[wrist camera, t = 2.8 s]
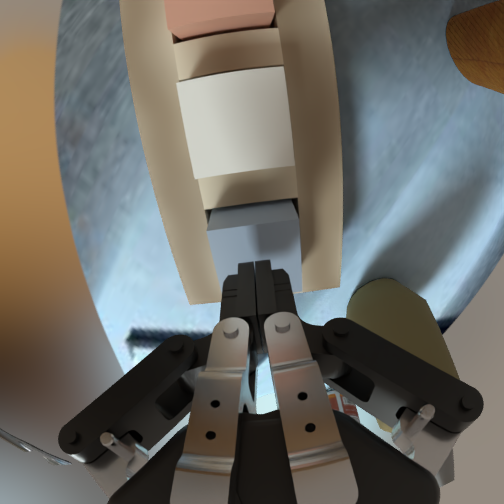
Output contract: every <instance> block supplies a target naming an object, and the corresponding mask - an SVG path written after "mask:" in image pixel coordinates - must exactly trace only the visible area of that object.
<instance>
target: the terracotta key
mask: <svg viewBox="0 0 504 504" xmlns="http://www.w3.org/2000/svg"><path fill="white" fill-rule="evenodd" d="M164 6H165V13H166V21H167V28H168V30H169V31H170V32H172V33H173V34H174V35H176V36H177V37H178V38H179V39H181V40H182V41H183V42H185V41H189V40H194V39H198V38H203V37H208V36H214V35H220V34H226V33H232V32H240V31H248V30H258V29H269V27H270V24H271V22H272V19H273V16H274V13H275V9H274V4H273V0H164Z"/></svg>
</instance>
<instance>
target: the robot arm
mask: <svg viewBox="0 0 504 504" xmlns="http://www.w3.org/2000/svg"><path fill="white" fill-rule="evenodd" d="M262 342H263V348H264V353H268V357H269V363H270V370H271V375H272V381H273V386H274V392H275V397H276V403H277V408H278V410H275V411H272V412H269V413H265V414H257V413H256V396H257V375H258V368H257V365H258V357H257V354H262V353H263V349H262ZM324 383H326V384H327V385H328V386H330V387H331V388H333V389H334V390H335V391H337V392H338V393H340V394H341V395H343V396H344V397H346V398H347V399H348V400H350V401H351V402H353V403H354V404H356V405H357V406H359V407H360V408H362V409H363V410H365V411H366V412H368V413H369V414H371V415H373V416H374V417H375V418H377V419H379V420H380V421H382V422H383V423H385V424H386V425H388V426H389V427H391V428H393V429H392V440H393V442H394V443H395V445H396V446H398V448H400V450H401V451H402V453H401V452H400V451H398V450H397V449H395V448H394V447H393V446H391V445H390V444H388V443H387V442H385V441H384V440H383V439H381V438H380V437H378V436H377V435H375V434H374V433H373V432H371V431H370V430H369V429H367V428H366V427H364V426H363V425H362V424H360V423H359V422H358V421H356V420H355V419H354V418H352V417H351V416H349V415H347V414H345V413H343V412H340V411H338V410H334V409H332V407H331V404H330V401H329V397H328V394H327V391H326V388H325V385H324ZM483 405H484V404H483V398H482V396H481V394H480V393H479V391H478V390H476V389H475V388H473V387H471V386H469V385H468V384H466V383H464V382H462V381H460V380H459V379H457V378H455V377H453V376H451V375H449V374H448V373H446V372H444V371H442V370H440V369H438V368H437V367H435V366H433V365H431V364H429V363H428V362H426V361H424V360H422V359H420V358H418V357H417V356H415V355H413V354H411V353H409V352H408V351H406V350H404V349H402V348H400V347H399V346H397V345H395V344H393V343H391V342H390V341H388V340H386V339H384V338H382V337H381V336H379V335H377V334H375V333H374V332H372V331H370V330H368V329H366V328H365V327H363V326H361V325H359V324H358V323H356V322H354V321H352V320H350V319H347V318H334V319H331V320H330V321H328V322H327V323H326V324H325V325H324V326H317V325H311V324H308V323H306V322H304V321H302V320H301V319H300V318H299V316H298V314H297V310H296V305H295V301H294V296H293V291H292V287H291V282H290V278H289V274H288V273H287V272H286V271H285V270H284V269H283V268H282V269H275V270H272V268H271V261H270V259H268V260H260V261H255V266H254V261H252V262H244V263H238V274H234V275H228V276H227V277H226V279H225V280H224V282H223V288H222V299H221V310H220V322H219V323H218V324H217V325H216V326H215V327H214V330H213V333H212V334H210V335H208V336H206V337H204V338H201V339H198V340H195V341H193V340H192V339H191V338H190V337H188V336H186V335H175V336H172V337H170V338H168V339H166V340H165V341H164V342H163V343H162V344H160V345H159V346H158V347H157V348H156V349H155V350H153V351H152V352H151V353H150V354H149V355H148V356H146V357H145V358H144V359H143V360H142V361H141V362H139V363H138V364H137V365H136V366H135V367H133V368H132V369H131V370H130V371H129V372H128V373H126V374H125V375H124V376H123V377H122V378H121V379H119V380H118V381H117V382H116V383H115V384H114V385H112V386H111V387H110V388H109V389H108V390H106V391H105V392H104V393H103V394H102V395H100V396H99V397H98V398H97V399H96V400H94V401H93V402H92V403H91V404H90V405H88V406H87V407H86V408H85V409H84V410H82V411H81V412H80V413H79V414H78V415H77V416H75V417H74V418H73V419H72V420H70V421H69V422H68V423H67V424H66V425H64V427H62V429H61V430H60V433H59V437H58V442H59V446H60V448H61V449H62V450H63V451H64V452H65V453H67V454H68V455H70V456H71V457H73V458H75V459H76V460H77V461H78V462H80V463H82V464H83V465H84V466H85V468H86V469H87V470H88V472H89V473H90V475H91V476H92V477H93V479H94V480H95V481H96V483H97V484H98V485H99V486H100V488H101V489H102V490H103V491H104V493H105V494H106V495H107V496H108V498H109V501H108V503H107V504H439V501H440V488H439V484H438V481H437V479H436V478H435V476H436V474H437V473H438V471H439V469H440V468H441V466H442V465H443V463H444V462H445V460H446V458H447V457H448V455H449V453H450V452H451V450H452V448H453V446H454V444H455V443H456V441H457V439H458V437H459V435H460V434H461V433H462V432H463V431H464V430H465V429H466V428H467V427H468V426H470V425H471V424H472V423H473V422H474V421H475V420H476V419H477V418H478V417H479V416H480V414H481V412H482V410H483ZM190 411H191V412H190ZM189 412H190V417H189V423H188V425H186V426H184V427H183V428H182V429H180V430H179V431H178V432H177V433H176V434H175V435H174V436H173V437H172V438H171V439H170V440H169V441H168V442H167V443H166V444H165V445H164V446H163V447H162V448H161V449H160V450H159V451H158V452H157V453H156V454H155V455H154V456H153V457H152V458H151V459H150V460H149V461H148V459H149V457H148V456H149V455H148V451H149V450H150V449H151V448H152V447H153V446H154V445H155V444H157V443H158V442H159V441H160V440H161V439H162V438H163V437H164V436H165V435H166V434H167V433H168V432H169V431H170V430H172V429H173V428H174V427H175V426H176V425H177V424H178V423H179V422H180V421H181V420H182V419H183V418H184V417H185V416H186V415H187V414H188V413H189Z"/></svg>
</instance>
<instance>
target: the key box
mask: <svg viewBox="0 0 504 504" xmlns="http://www.w3.org/2000/svg"><path fill="white" fill-rule="evenodd" d="M119 2H120V13H121V23H122V32H123V40H124V47H125V54H126V61H127V68H128V74H129V80H130V86H131V91H132V97H133V102H134V107H135V112H136V117H137V122H138V127H139V131H140V136H141V140H142V145H143V149H144V153H145V158H146V162H147V166H148V170H149V174H150V178H151V181H152V185H153V189H154V193H155V196H156V200H157V204H158V207H159V211H160V214H161V218H162V221H163V225H164V228H165V231H166V235H167V238H168V241H169V244H170V248H171V251H172V254H173V257H174V260H175V263H176V266H177V269H178V272H179V275H180V278H181V281H182V284H183V287H184V290H185V293H186V295H187V298H188V301H189V304H190V305H193V304H205V303H215V302H221V299H222V293H221V289H220V285H219V281H218V277H217V273H216V269H215V265H214V261H213V257H212V253H211V249H210V244H209V240H208V236H207V232H206V230H207V227H208V223H209V219H210V215H211V212H212V208H219V207H226V206H233V205H240V204H248V203H255V202H263V201H271V200H280V199H288V198H291V200H292V203H293V205H294V208H295V210H296V213H297V215H298V218H299V226H300V244H301V265H302V292H309V291H316V290H323V289H330V288H337V287H340V277H341V259H342V232H343V169H342V143H341V126H340V112H339V100H338V89H337V80H336V71H335V63H334V56H333V48H332V42H331V35H330V29H329V23H328V18H327V12H326V7H325V2H324V0H273V4H274V9H275V13H274V16H273V19H272V22H271V24H270V27H269V29H258V30H248V31H240V32H232V33H226V34H220V35H214V36H208V37H203V38H198V39H194V40H189V41H185V42H183V41H182V40H181V39H179V38H178V37H177V36H176V35H174V34H173V33H172V32H170V31H169V30H168V28H167V21H166V13H165V6H164V0H119ZM282 66H284V72H285V80H286V87H287V95H288V103H289V112H290V121H291V130H292V139H293V150H294V160H295V166H286V167H277V168H268V169H260V170H252V171H245V172H238V173H231V174H224V175H218V176H212V177H206V178H200V179H195V178H194V174H193V169H192V164H191V159H190V154H189V150H188V145H187V139H186V134H185V129H184V124H183V119H182V113H181V108H180V102H179V97H178V91H177V85H176V83H178V82H182V81H187V80H191V79H196V78H201V77H206V76H211V75H217V74H222V73H229V72H235V71H243V70H250V69H259V68H269V67H282ZM302 292H295V293H302ZM293 294H294V293H293Z"/></svg>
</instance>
